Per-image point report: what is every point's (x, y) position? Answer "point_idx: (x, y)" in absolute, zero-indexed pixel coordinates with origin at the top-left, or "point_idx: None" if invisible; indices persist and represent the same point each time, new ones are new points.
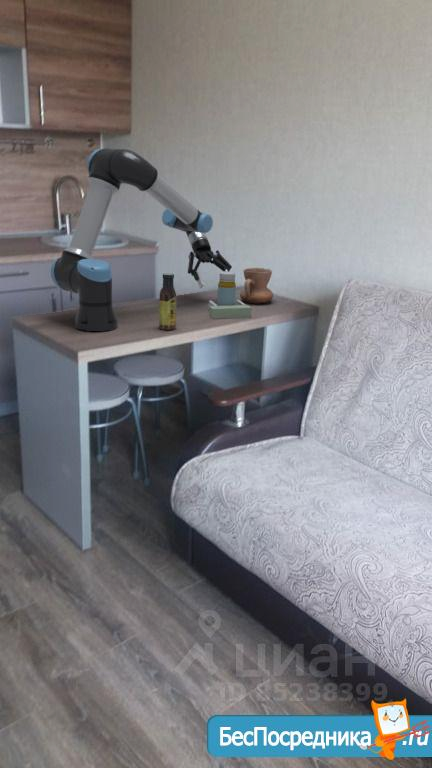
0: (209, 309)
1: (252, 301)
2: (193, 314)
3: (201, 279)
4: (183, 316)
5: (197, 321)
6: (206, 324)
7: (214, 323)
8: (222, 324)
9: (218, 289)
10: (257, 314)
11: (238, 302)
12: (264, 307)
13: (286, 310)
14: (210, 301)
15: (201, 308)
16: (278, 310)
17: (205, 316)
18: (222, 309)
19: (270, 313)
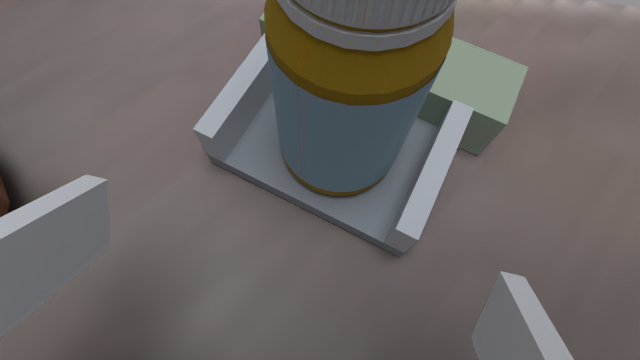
0: (496, 135)
1: (4, 187)
2: (546, 241)
3: (538, 332)
4: (633, 240)
5: (600, 115)
6: (583, 55)
7: (535, 46)
8: (508, 17)
9: (433, 82)
10: (215, 39)
11: (244, 98)
12: (32, 112)
13: (15, 9)
14: (423, 209)
15: (399, 341)
16: (46, 30)
17: (501, 163)
18: (463, 45)
19: (142, 16)
